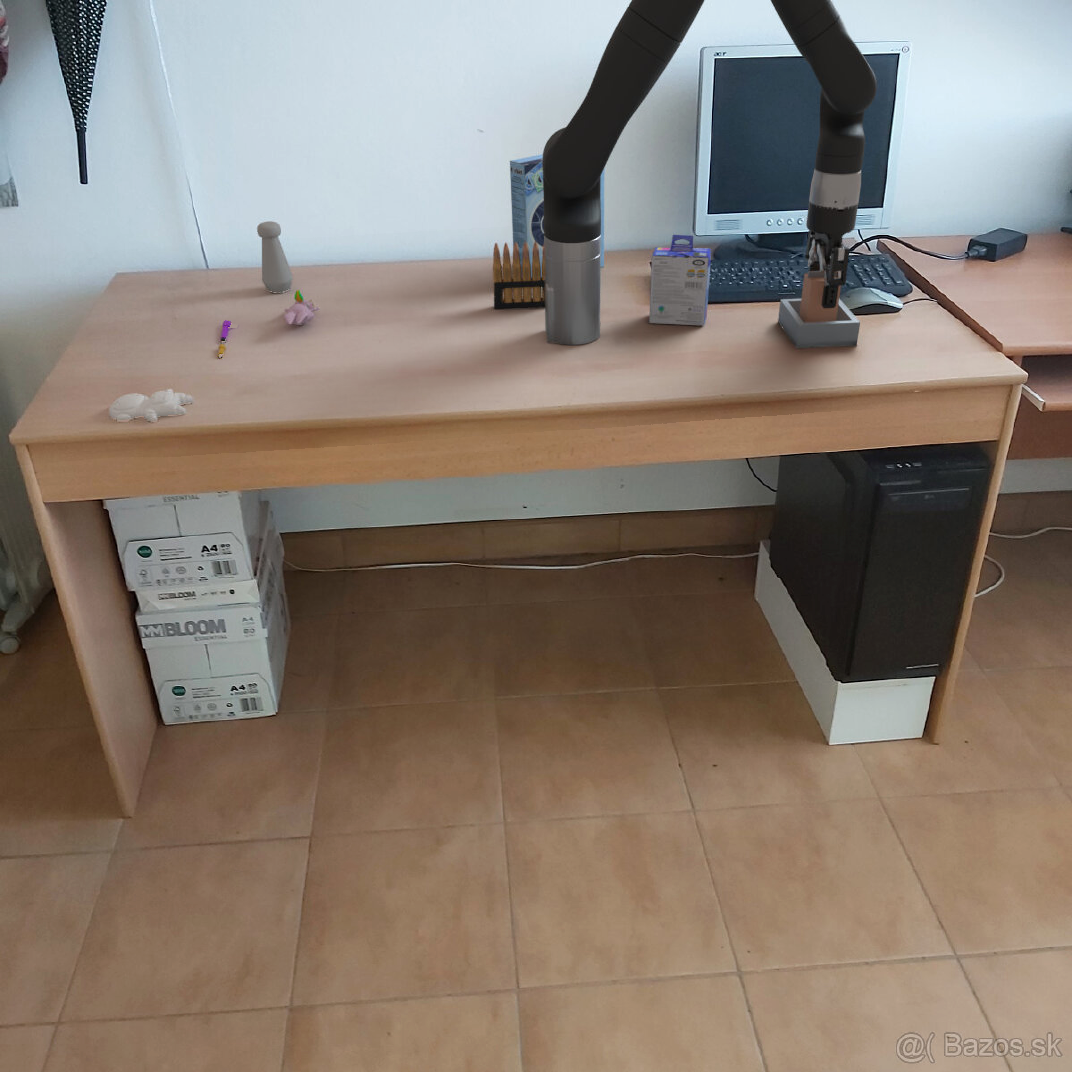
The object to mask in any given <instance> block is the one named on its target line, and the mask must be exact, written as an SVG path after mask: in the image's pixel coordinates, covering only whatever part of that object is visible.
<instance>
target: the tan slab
mask: <svg viewBox="0 0 1072 1072" xmlns="http://www.w3.org/2000/svg"><path fill="white" fill-rule="evenodd" d="M834 278H836V273H834ZM802 284H803V285H802V290H801V291H802V292H801V307H800V315H799V317H800V318H801V320H802V321H803V322H804V323H807V322H828V321H836V317H837V310H838V303H839V299H840V297H841V296H840V294H841V290H842V289H841V288H842V286H839V288H838V295H837V302H836V307H835V308H823V307H822V305H821V304H822V296H823V289H824V274H823V273H822V272H821V271H809V270H808V271H807V272H806V273H804V275H803V283H802Z"/></svg>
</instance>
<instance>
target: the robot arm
mask: <svg viewBox="0 0 1072 1072" xmlns="http://www.w3.org/2000/svg"><path fill="white" fill-rule="evenodd" d="M704 2H705V0H631V1H630V2H629V4H628V6H627V7H626V10H625V11H624V13H623V14H622V17H621V18H620V19H619V22H617V25H616V26H615V28H614V30H613V32H612V34H611V36H610V39H609V40H608V43H607V44H606V47H605V49H604V50H603V54H602V56H601V58H600V60H599V63H598V66H597V67H596V68H597V69H596V71H595V73H594V76H593V78H592V82H591V85H590V87H589V89H588V91H587V93H586V95H585V97H584V98H583V101H582V102H581V104H580V106H579V107H578V108H577V110H576V112H575V113H574V115H573V116H572V117H571V119H570V121H569V122H568V124H567V125H566V126H565V127H563V128H560V129H558V130H556V131H554V133H553V134H551V136H550V137H549V138H548V140H547V141H546V143H545V146H544V147H543V152H542V154H543V160H542V168H543V194H544V246H545V277H544V286H545V308H544V315H545V316H544V319H545V321H544V322H545V324H544V325H545V328H544V329H545V334H546V335H545V336H546V342H547V343H555V344H556V343H557V344H560V345H561V344H562V345H573V346H574V345H584V344H585V345H586V344H589V343H591V342H594V341H595V340H598V339H599V338H600V335H601V284H602V283H601V280H602V279H601V271H602V270H601V174H602V172H603V170H604V171H605V168H606V165H607V163H608V161H609V159H610V157H611V155H612V154H613V151H614V149H615V146H616V144H617V143H618V140H619V139H620V137H621V135H622V133H623V132H624V129H625V128H626V126H627V124H628V123H629V122H630V120H631V119H632V117H633V115H634V114H635V113H636V111H637V110H638V108H639V107H640V106H641V105H642V103H643V102H644V101H645V99H646V98H647V97H648V95H649V93H650V92H651V91H652V89H653V88H654V86H655V84H656V83H657V82H658V80H659V79H660V77H661V76H662V74H663V73H664V71H665V70H666V69H667V67H668V65H669V64H670V62H671V60H672V59H673V57H674V56H675V54H676V53H677V51H678V50H679V47H680V46H681V44H682V43H683V40H684V39H685V37H686V36H687V34H688V32H689V30H690V28H691V27H692V25H693V23H694V22H695V20H696V18H697V16H698V14H699V11H700V10H701V8H702V6H703V4H704ZM770 2H771V5H772V6H773V8H774V10H775V11H776V14H777V16H778V17H779V19H780V21H781V22H782V25H783V27H784V28H785V30H786V32H787V33H788V35H789V37H790V38H791V40H792V42H793V44H794V45H795V47H796V49H797V51H798V52H799V53H800V55H801V56H802V57H803V59H804V60H805V61H806V62H807V64H809V66H810V68H811V69H812V73H814V76H815V78H816V79H817V81H818V83H819V85H820V87H821V88H820V95H819V96H820V98H819V99H820V101H819V136H818V137H819V138H818V140H817V141H818V142H817V146H816V147H817V149H816V155H815V163H814V170H813V175H812V179H811V185H810V190H809V191H810V192H809V198H808V199H809V200H808V209H807V214H806V215H807V216H806V223H805V224H806V225H805V226H806V228H807V230H808V234H807V235H808V236H807V241H806V242H807V243H806V249H805V256H804V257H805V261H807V267H808V271H821V272H822V273H823V274H824V289H823V296H822V304H821V305H822V307H823V308H835V307H836V302H837V295H838V288H839V286H841V287H842V286H846V282H847V273H848V266H849V257H850V248H849V247H848V246H847V247H844V242H843V237H844V235H846V234H849V233H851V232H853V231H854V229H855V228H856V221H857V215H858V207H859V200H860V196H861V195H860V194H861V187H862V169H863V162H864V155H865V147H866V146H865V145H866V138H865V137H866V136H865V132H864V127H863V124H864V117H865V116H864V115H865V111H866V110H868V108H869V107H870V106H871V105H872V103H873V102H874V100H875V97H876V94H877V91H878V86H877V85H878V83H877V82H878V81H877V78H876V74H875V73H874V70H873V69H872V67H871V65H870V64H869V63H868V61H867V59H866V57H865V56H864V54H863V52H862V51H861V50H860V48H859V47H858V46H857V44H856V42H855V41H854V39H852V37H851V36H850V33H849V31H848V29H847V27H846V25H845V22H844V20H843V19H842V16H841V15H840V12H839V11H838V9H837V7H836V5H835V4H834V2H833V0H770ZM834 273H836V278H834Z"/></svg>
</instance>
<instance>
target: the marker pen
mask: <svg viewBox="0 0 1072 1072" xmlns="http://www.w3.org/2000/svg"><path fill="white" fill-rule="evenodd" d="M231 323H232V321H230V320H226V319H225V320H224V321H222V327H223V329H221V330H222V331H221V335H220V342H221V341H225V339H226V336H227V337H228V335H227V331H228V332H229V329H228V327H230V325H231ZM225 347H226V345H225V344H222V343H220V344H219V345H218V348H217V351H218V349H219V351H218V353H217V357H218V356H219V354H223V352H224V353H225V351H224V349H225ZM225 350H226V349H225Z"/></svg>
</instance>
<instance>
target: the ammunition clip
mask: <svg viewBox="0 0 1072 1072" xmlns="http://www.w3.org/2000/svg"><path fill="white" fill-rule="evenodd" d="M502 249H503V250H502V257H503V258H502V261H501V252H500V247H499V245H498V243H497V242H495V243H494V246H493V255H492V256H493V258H492V259H493V263H492V278H493V281H492V282H493V309H494V310H496V311H497V310H502V311H503V310H520V309H521V310H522V309H541V308H542V309H545V286H544V277H545V246H544V245H543V257H542V277H541V265H540V258H539V249H538V244H537V242H536V241H535V242H534V245H533V257H532V278H531V265H530V258H529V249H528V245H527V243H526V242H525V243H524V246H523V258H522V275H521V264H520V256H519V248H518V245H517V243H516V242H515V244H514V247H513V246H512V264H511V253H510V249H509V245H508V243H507V242H505V243H504V245H503V248H502ZM501 262H502V263H501Z"/></svg>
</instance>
